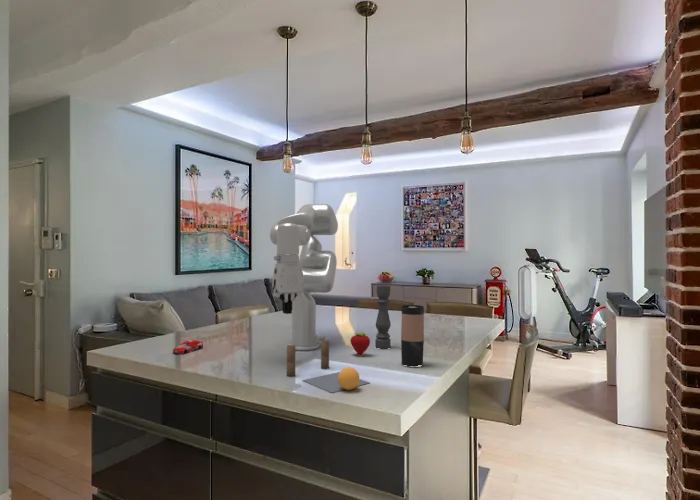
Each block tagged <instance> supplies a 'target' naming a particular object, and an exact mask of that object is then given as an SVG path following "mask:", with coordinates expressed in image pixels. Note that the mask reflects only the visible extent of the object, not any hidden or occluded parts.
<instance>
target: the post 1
mask: <svg viewBox="0 0 700 500" xmlns="http://www.w3.org/2000/svg"><path fill="white" fill-rule="evenodd" d="M295 348H296V346H295V345H288V344H287V346H286V376H287V377H295V376H296V350H295Z"/></svg>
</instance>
